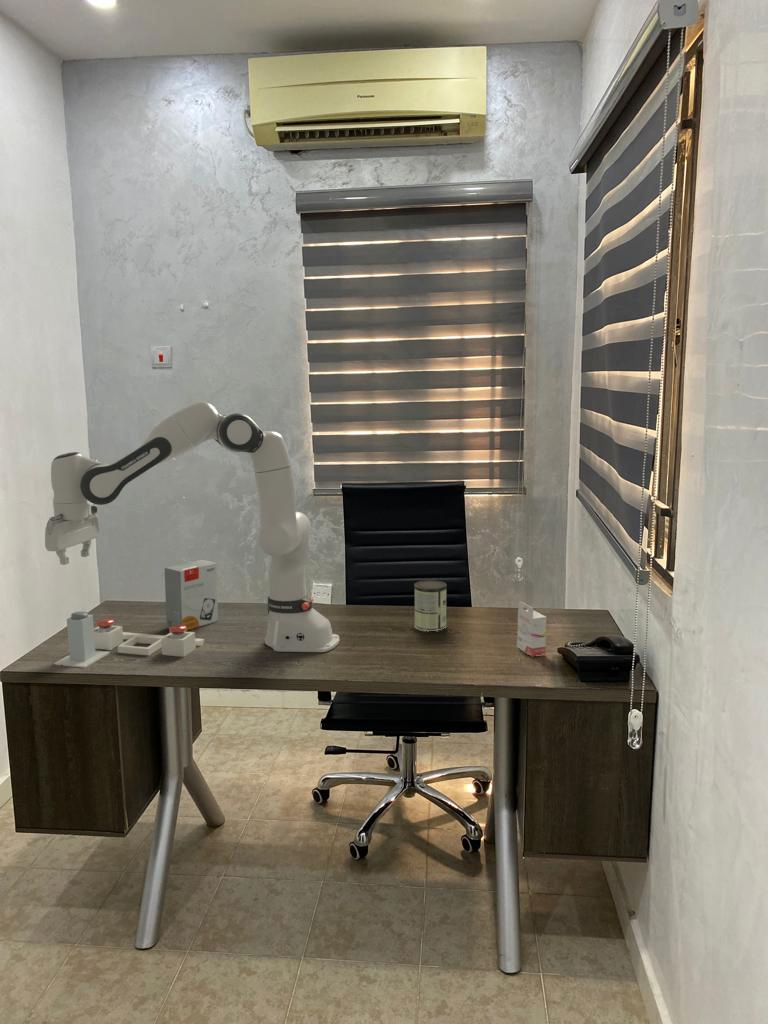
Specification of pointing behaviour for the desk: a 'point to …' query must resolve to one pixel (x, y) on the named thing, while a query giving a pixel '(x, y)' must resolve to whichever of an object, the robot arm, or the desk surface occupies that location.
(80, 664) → the pad
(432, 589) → the coffee can
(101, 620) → the plunger
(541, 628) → the ink cartridge box
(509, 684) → the desk surface
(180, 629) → the plunger
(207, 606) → the hard drive box
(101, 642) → the tower
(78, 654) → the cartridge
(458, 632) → the desk surface
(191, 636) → the tower
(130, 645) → the socket
